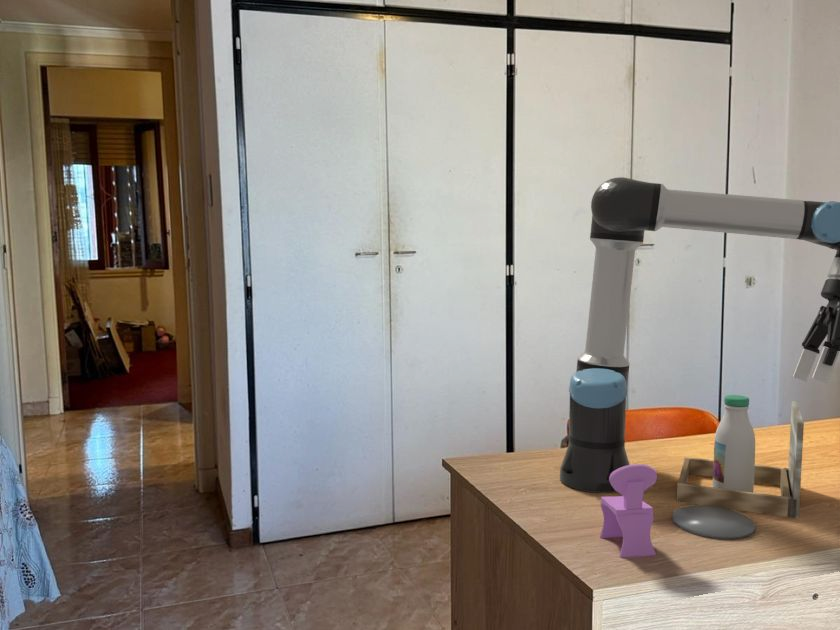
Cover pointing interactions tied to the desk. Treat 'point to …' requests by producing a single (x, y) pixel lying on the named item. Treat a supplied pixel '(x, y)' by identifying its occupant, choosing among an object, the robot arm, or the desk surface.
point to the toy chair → (630, 510)
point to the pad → (713, 522)
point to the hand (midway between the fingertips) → (808, 380)
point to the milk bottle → (734, 447)
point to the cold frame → (763, 474)
